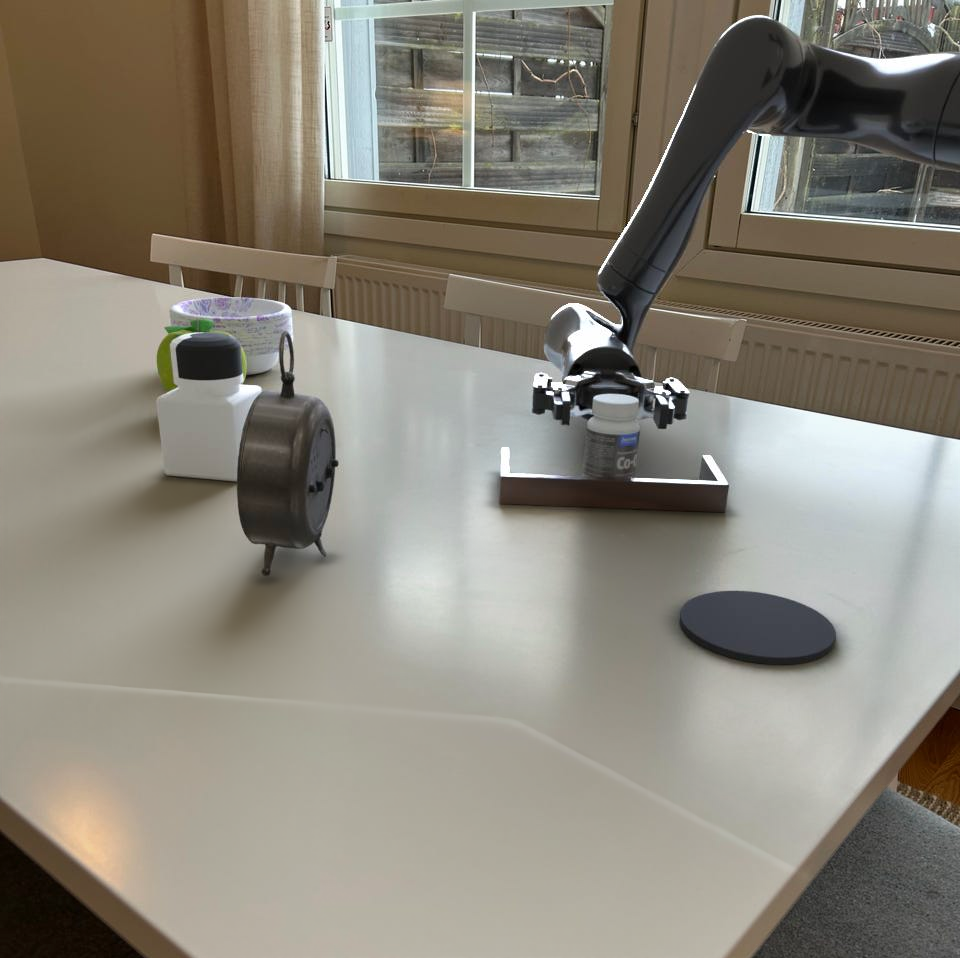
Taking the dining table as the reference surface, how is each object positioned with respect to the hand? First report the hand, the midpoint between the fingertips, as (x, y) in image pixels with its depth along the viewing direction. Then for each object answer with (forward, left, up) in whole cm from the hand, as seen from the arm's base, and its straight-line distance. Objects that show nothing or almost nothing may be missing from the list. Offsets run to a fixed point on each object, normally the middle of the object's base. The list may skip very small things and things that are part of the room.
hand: (615, 416), depth 86 cm
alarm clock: (+30, -6, -7) cm, 31 cm away
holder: (0, 0, -7) cm, 7 cm away
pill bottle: (0, 0, -7) cm, 7 cm away
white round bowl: (-2, -63, -7) cm, 64 cm away
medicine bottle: (+23, -28, -7) cm, 37 cm away
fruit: (+13, -46, -7) cm, 48 cm away
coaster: (+15, +24, -7) cm, 29 cm away
